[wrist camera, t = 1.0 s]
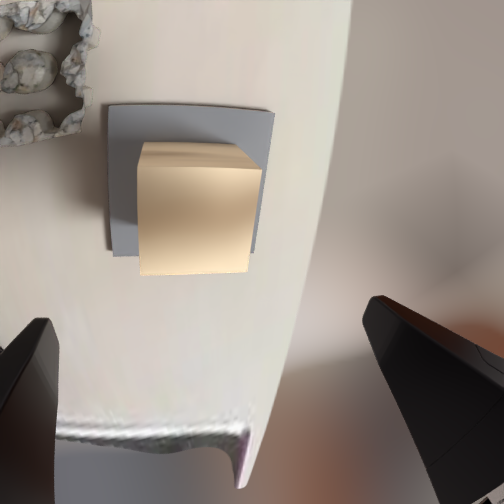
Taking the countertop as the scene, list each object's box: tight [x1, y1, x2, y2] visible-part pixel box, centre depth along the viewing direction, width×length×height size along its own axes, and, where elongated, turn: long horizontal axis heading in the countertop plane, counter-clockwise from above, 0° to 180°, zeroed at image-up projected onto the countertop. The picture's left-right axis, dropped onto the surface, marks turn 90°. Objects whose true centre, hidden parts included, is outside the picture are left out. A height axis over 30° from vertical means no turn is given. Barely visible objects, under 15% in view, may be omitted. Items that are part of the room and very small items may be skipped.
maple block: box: [137, 142, 262, 276], centre depth 15 cm, size 5×5×5 cm
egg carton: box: [0, 0, 101, 147], centre depth 10 cm, size 11×8×4 cm
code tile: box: [108, 104, 275, 257], centre depth 18 cm, size 9×9×1 cm
